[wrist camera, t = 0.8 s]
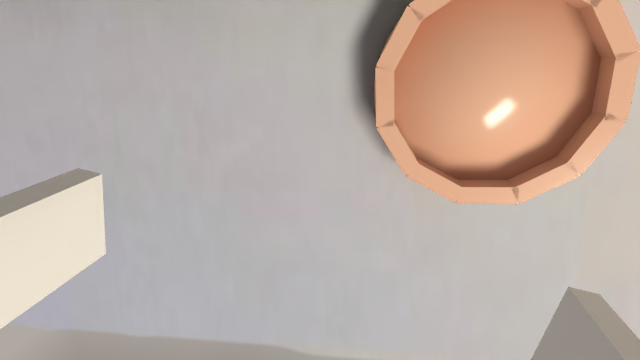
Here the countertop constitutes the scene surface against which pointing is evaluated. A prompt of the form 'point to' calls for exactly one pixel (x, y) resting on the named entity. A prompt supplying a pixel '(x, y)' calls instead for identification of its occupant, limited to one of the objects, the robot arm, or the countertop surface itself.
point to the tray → (503, 93)
